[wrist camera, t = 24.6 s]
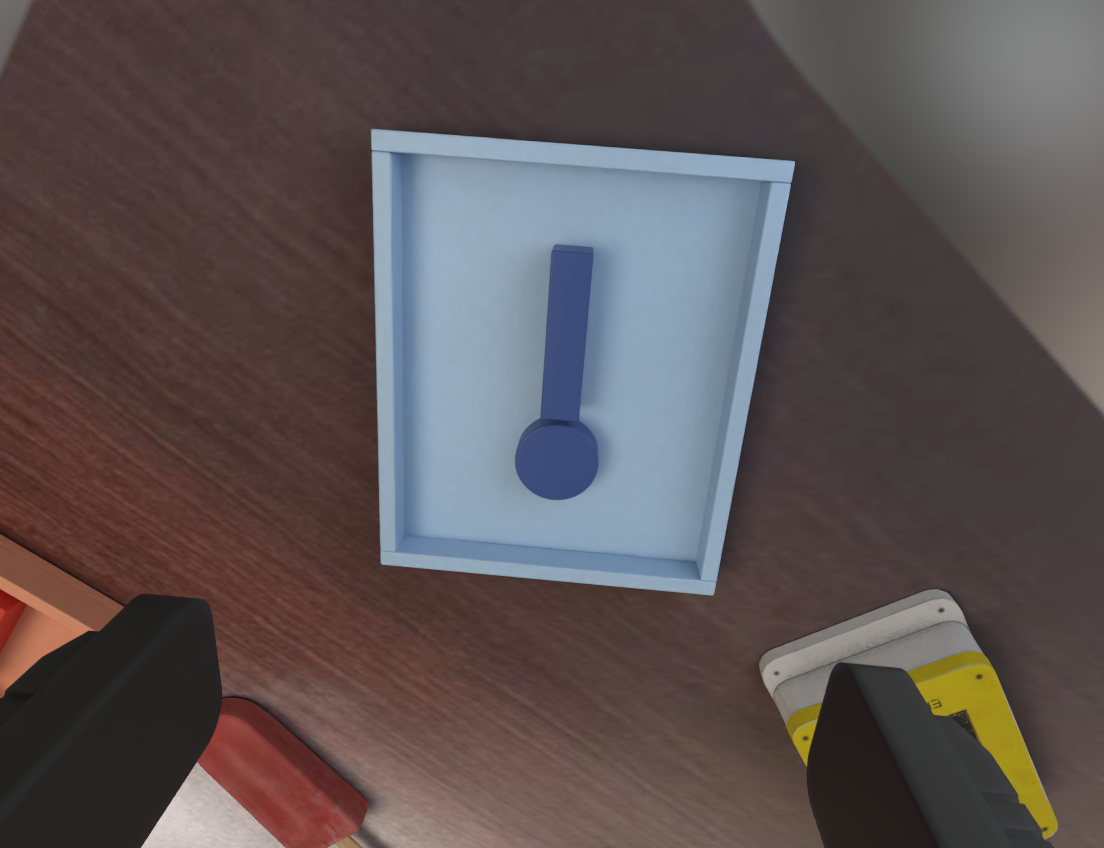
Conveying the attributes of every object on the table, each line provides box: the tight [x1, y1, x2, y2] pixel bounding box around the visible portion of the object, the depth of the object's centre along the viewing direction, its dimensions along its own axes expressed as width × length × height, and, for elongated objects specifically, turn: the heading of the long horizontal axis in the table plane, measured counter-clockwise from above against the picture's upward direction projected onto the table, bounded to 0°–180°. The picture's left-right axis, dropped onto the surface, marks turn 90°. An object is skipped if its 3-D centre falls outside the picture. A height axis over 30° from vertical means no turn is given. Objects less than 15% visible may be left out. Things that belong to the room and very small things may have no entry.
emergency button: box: [759, 589, 1058, 840], centre depth 32 cm, size 9×4×15 cm
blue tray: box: [371, 129, 795, 595], centre depth 27 cm, size 17×14×2 cm
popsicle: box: [197, 698, 368, 848], centre depth 37 cm, size 4×2×15 cm
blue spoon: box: [515, 244, 598, 500], centre depth 27 cm, size 10×3×2 cm, turn 176°
